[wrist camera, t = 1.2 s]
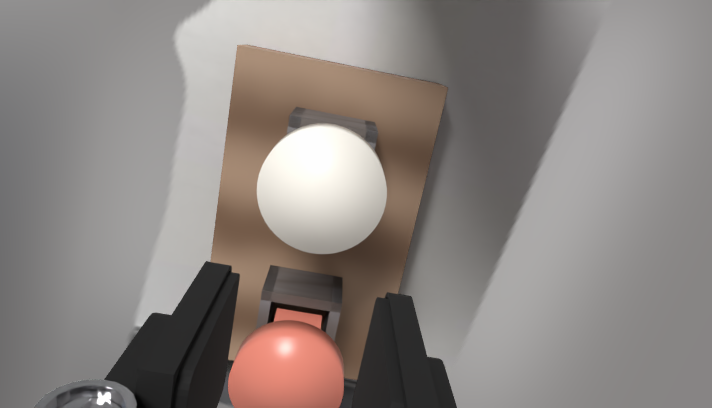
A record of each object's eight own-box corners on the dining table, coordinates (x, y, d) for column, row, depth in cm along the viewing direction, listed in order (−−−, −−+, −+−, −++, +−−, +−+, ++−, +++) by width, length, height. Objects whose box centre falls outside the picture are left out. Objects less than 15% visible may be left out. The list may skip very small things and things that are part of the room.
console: (247, 44, 32) (223, 45, 26) (439, 83, 33) (461, 93, 26) (210, 331, 37) (183, 388, 31) (374, 357, 38) (379, 418, 32)
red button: (254, 280, 29) (235, 328, 24) (352, 296, 30) (353, 347, 25) (241, 364, 31) (221, 426, 26) (334, 379, 31) (332, 443, 26)
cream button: (281, 103, 26) (266, 117, 22) (389, 124, 27) (399, 142, 22) (265, 206, 28) (248, 242, 23) (367, 225, 28) (372, 264, 24)
